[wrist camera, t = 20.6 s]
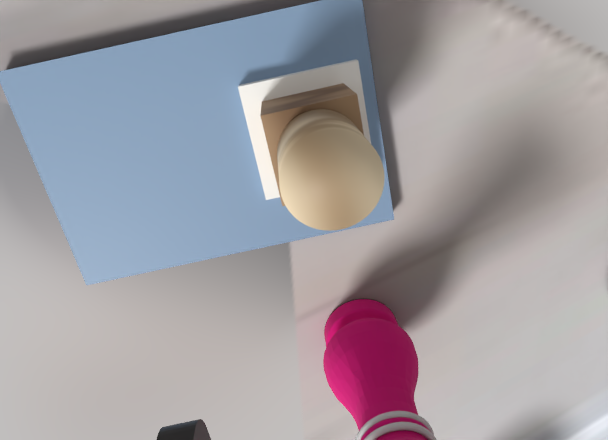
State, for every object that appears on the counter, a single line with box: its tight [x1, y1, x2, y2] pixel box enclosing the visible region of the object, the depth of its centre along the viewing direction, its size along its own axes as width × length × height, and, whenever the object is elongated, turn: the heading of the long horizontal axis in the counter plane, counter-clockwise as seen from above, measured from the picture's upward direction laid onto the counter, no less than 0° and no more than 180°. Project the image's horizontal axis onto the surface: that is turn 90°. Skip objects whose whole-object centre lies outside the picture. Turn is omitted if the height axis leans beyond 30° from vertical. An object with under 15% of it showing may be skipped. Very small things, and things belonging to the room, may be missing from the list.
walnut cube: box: [260, 83, 364, 206], centre depth 31 cm, size 6×6×6 cm
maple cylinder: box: [277, 109, 385, 231], centre depth 26 cm, size 5×5×6 cm
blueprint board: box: [0, 0, 394, 285], centre depth 35 cm, size 24×16×2 cm, turn 102°
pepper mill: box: [324, 299, 436, 440], centre depth 33 cm, size 7×7×20 cm
